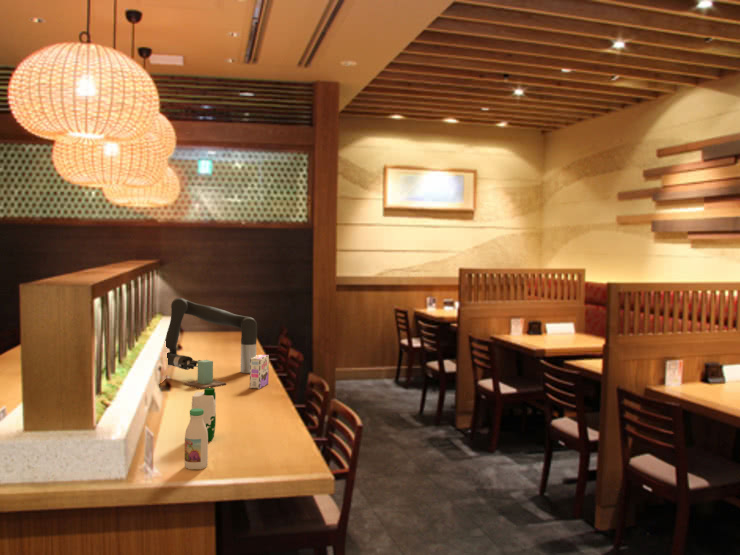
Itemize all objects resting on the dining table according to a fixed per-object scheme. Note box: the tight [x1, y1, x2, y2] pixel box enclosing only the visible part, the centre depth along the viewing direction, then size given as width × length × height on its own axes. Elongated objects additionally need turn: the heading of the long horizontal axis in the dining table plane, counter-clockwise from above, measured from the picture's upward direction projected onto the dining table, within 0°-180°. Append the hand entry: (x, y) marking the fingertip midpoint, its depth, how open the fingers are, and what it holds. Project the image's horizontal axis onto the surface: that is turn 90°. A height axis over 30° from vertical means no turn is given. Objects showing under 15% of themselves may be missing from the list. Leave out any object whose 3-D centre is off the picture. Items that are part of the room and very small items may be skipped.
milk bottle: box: [184, 408, 209, 470], centre depth 218 cm, size 8×8×20 cm
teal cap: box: [197, 359, 214, 384], centre depth 346 cm, size 6×6×12 cm
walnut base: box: [183, 379, 227, 390], centre depth 346 cm, size 16×16×8 cm
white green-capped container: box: [191, 387, 217, 442], centre depth 249 cm, size 9×9×20 cm
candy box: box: [249, 354, 270, 390], centre depth 345 cm, size 14×6×16 cm, turn 168°
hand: (199, 366), depth 349 cm, fingers open, 8 cm apart
